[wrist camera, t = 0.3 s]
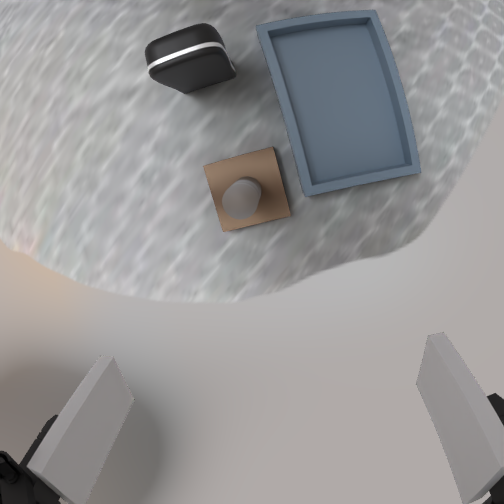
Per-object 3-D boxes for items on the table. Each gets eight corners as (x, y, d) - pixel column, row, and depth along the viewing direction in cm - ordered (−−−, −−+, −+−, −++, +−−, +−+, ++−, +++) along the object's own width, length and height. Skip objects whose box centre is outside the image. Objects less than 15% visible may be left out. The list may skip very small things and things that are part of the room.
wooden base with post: (206, 165, 34) (185, 171, 26) (273, 146, 33) (272, 147, 25) (225, 228, 37) (211, 253, 29) (290, 212, 36) (294, 233, 28)
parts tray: (257, 34, 28) (255, 25, 26) (368, 18, 26) (375, 9, 23) (302, 192, 35) (305, 196, 32) (410, 169, 32) (421, 172, 30)
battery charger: (230, 50, 29) (211, 12, 19) (239, 77, 31) (222, 48, 20) (174, 68, 30) (134, 42, 20) (182, 95, 32) (142, 77, 21)
